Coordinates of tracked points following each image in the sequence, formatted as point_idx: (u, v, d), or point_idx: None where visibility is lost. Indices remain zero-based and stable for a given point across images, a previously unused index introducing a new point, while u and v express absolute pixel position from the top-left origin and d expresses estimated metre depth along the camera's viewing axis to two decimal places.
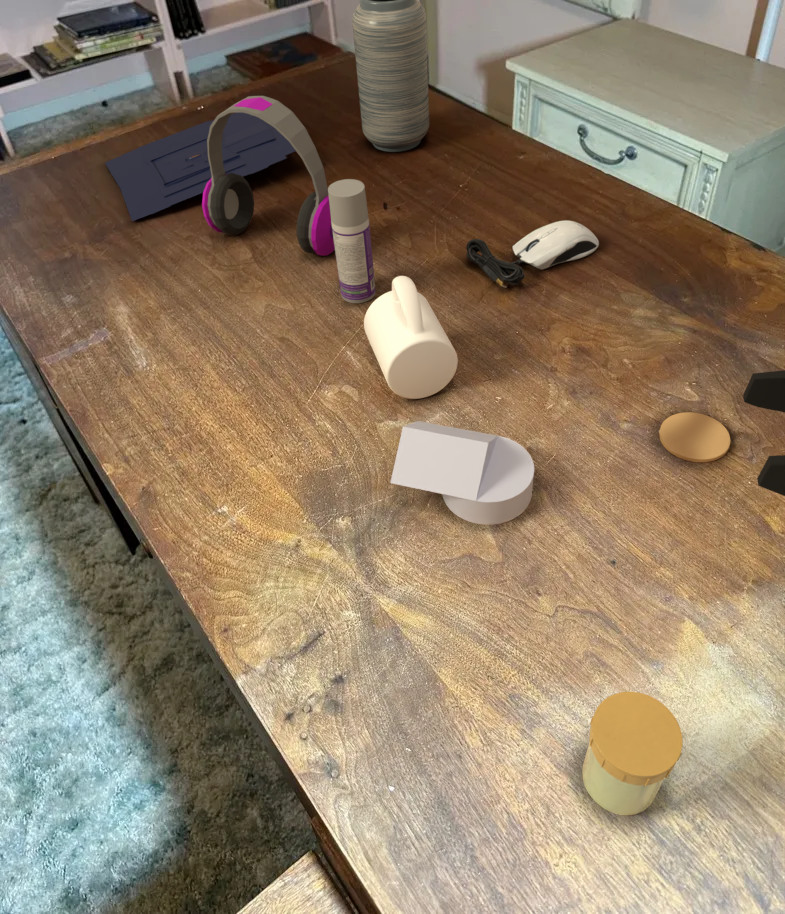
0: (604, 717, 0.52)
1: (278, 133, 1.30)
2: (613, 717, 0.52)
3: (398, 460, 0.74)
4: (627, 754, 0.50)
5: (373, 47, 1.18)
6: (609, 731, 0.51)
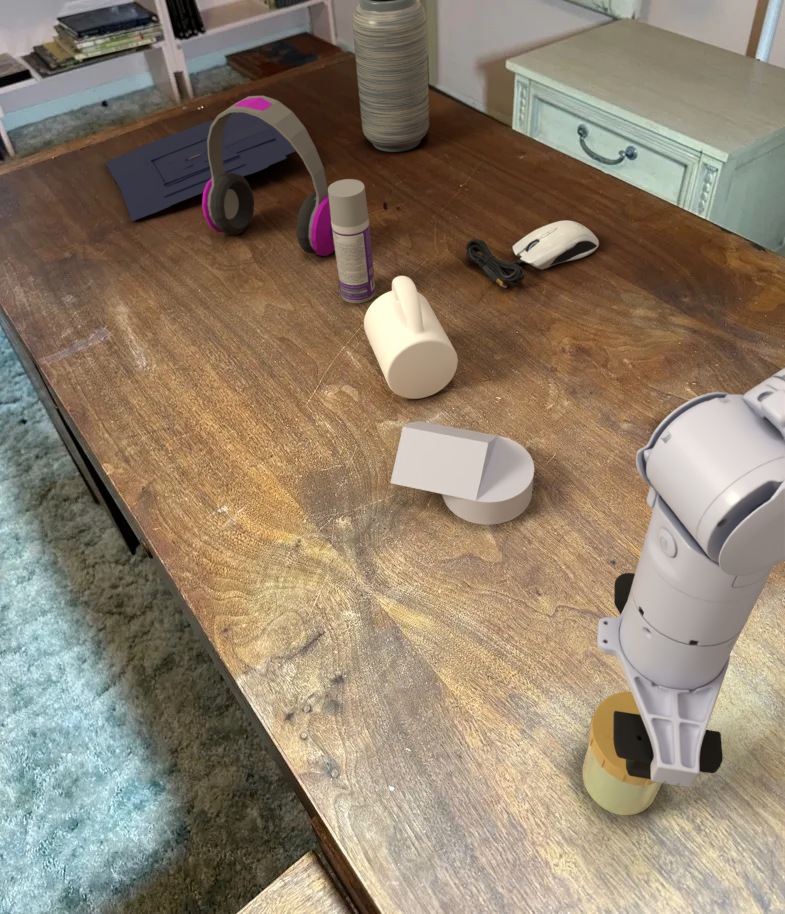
0: (604, 717, 0.52)
1: (278, 133, 1.30)
2: (613, 717, 0.52)
3: (398, 460, 0.74)
4: None
5: (373, 47, 1.18)
6: (609, 731, 0.51)
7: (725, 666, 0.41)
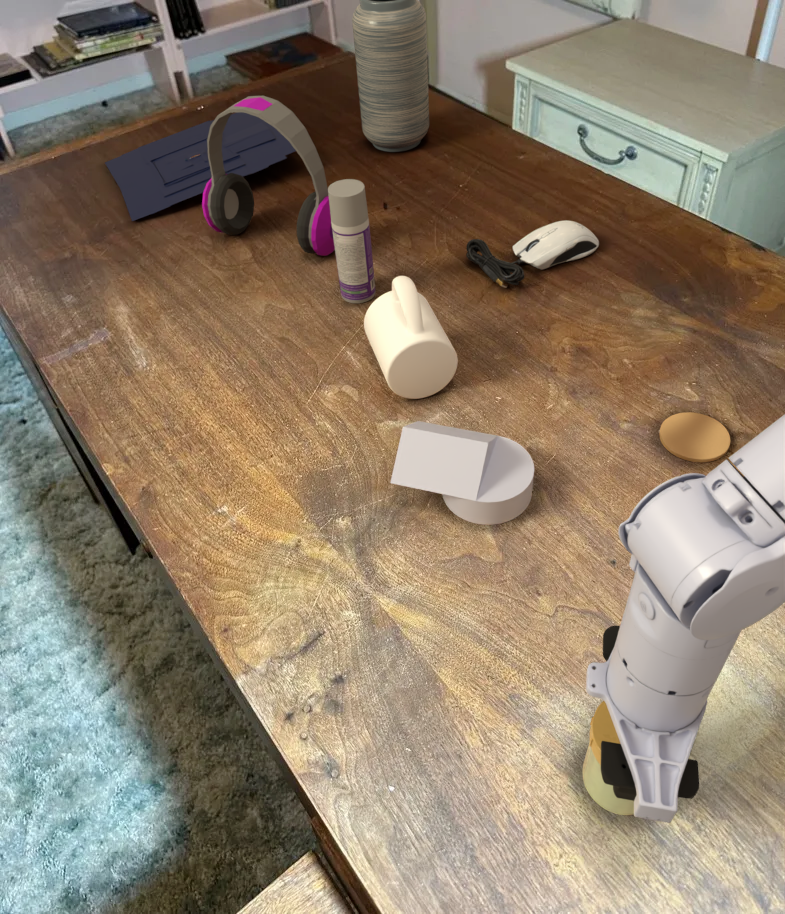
0: (604, 717, 0.52)
1: (278, 133, 1.30)
2: None
3: (398, 460, 0.74)
4: None
5: (373, 47, 1.18)
6: (609, 731, 0.51)
7: (703, 710, 0.45)
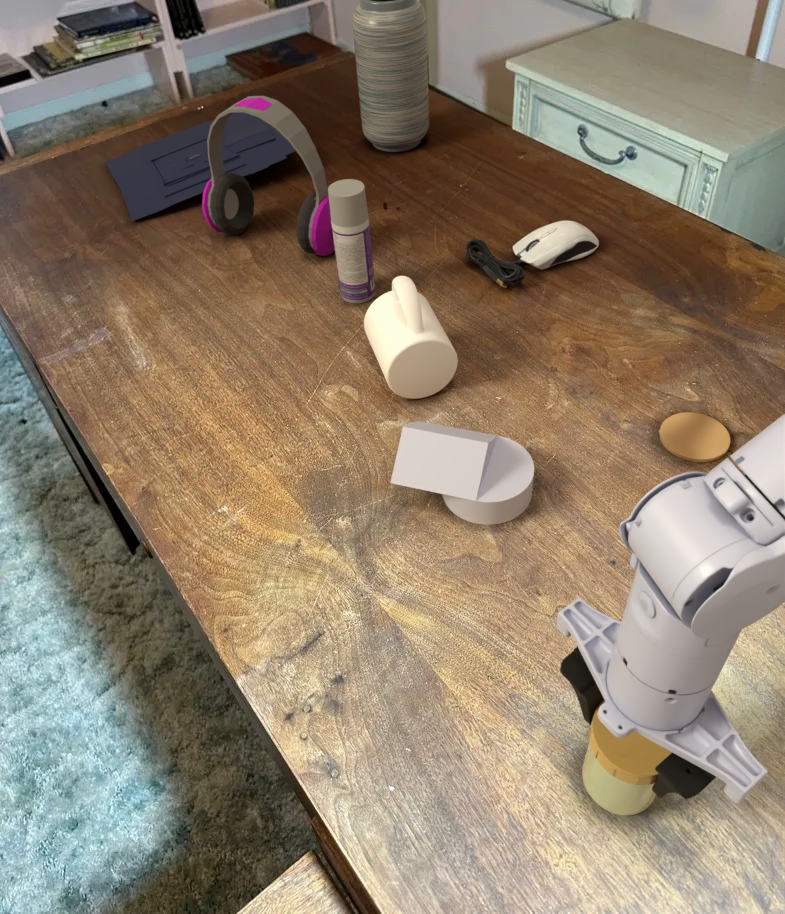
0: (607, 742, 0.51)
1: (278, 133, 1.30)
2: (612, 736, 0.51)
3: (398, 460, 0.74)
4: (650, 757, 0.50)
5: (373, 47, 1.18)
6: (621, 750, 0.50)
7: None
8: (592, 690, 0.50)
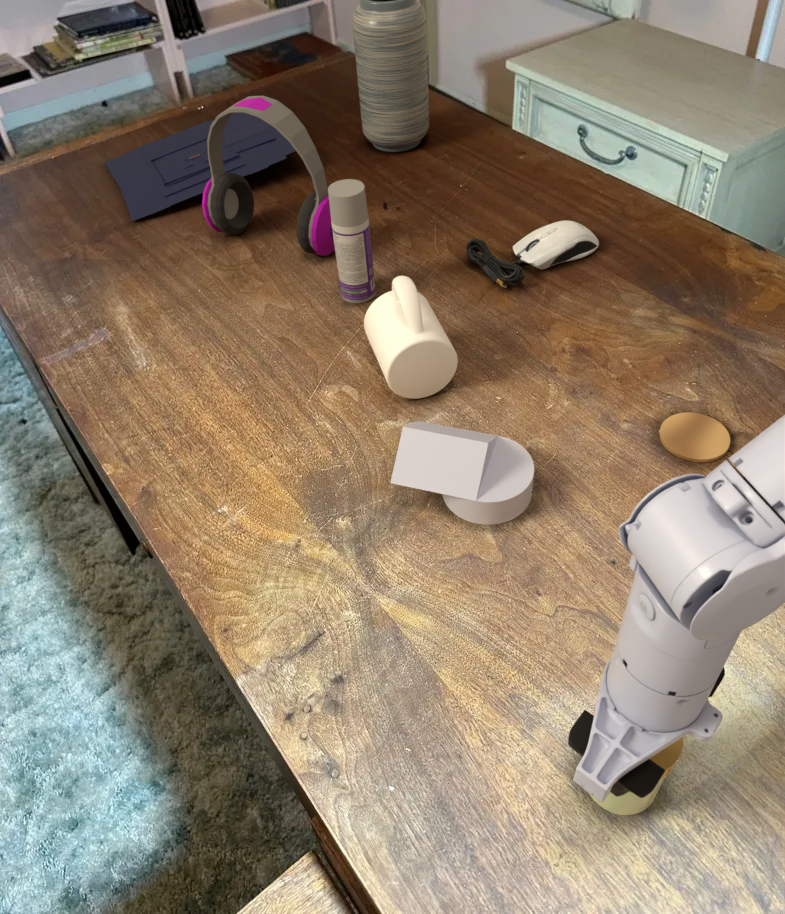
0: (661, 758, 0.50)
1: (278, 133, 1.30)
2: None
3: (398, 460, 0.74)
4: None
5: (373, 47, 1.18)
6: None
7: None
8: None
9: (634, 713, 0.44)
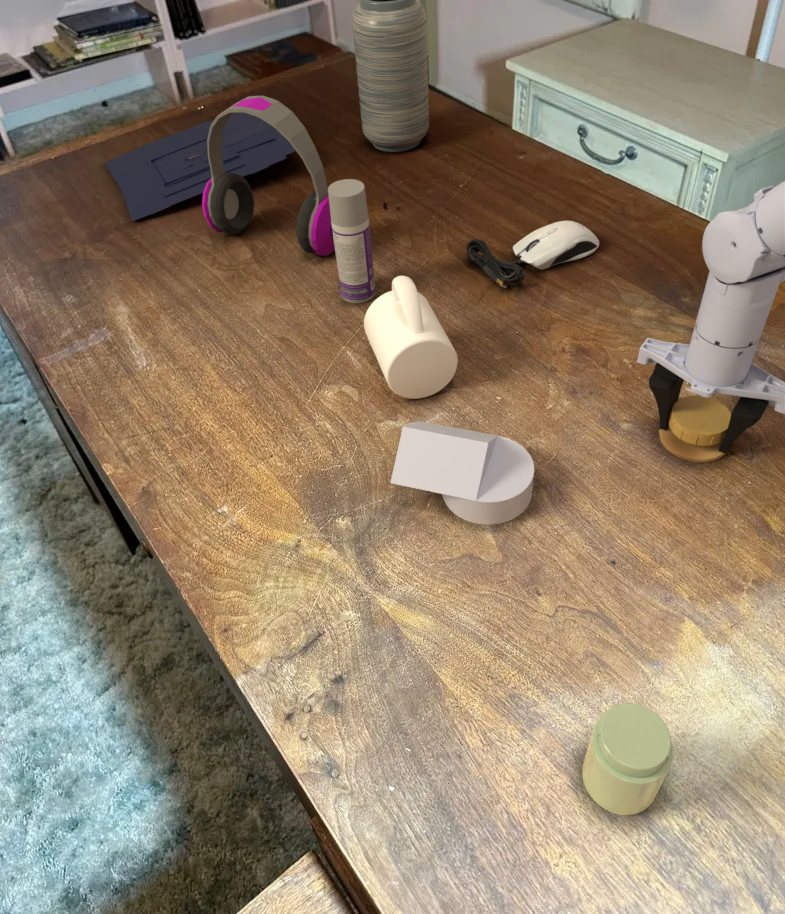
0: (687, 424, 0.77)
1: (278, 133, 1.30)
2: (688, 420, 0.77)
3: (398, 460, 0.74)
4: (715, 424, 0.77)
5: (373, 47, 1.18)
6: (697, 425, 0.77)
7: None
8: (672, 392, 0.76)
9: None
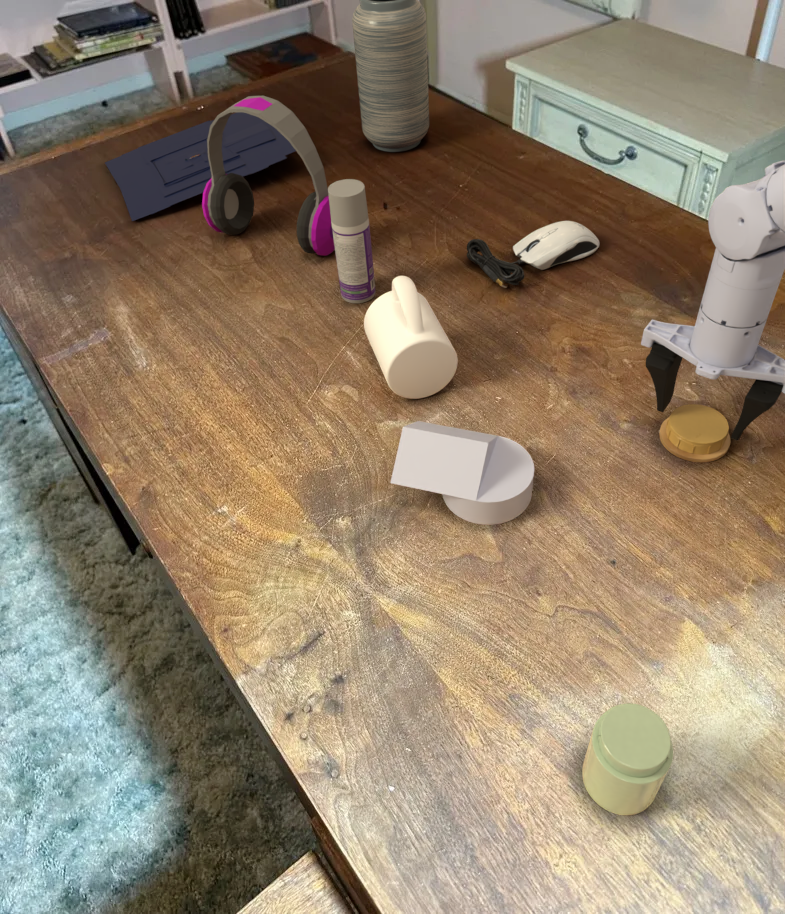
0: (684, 432, 0.78)
1: (278, 133, 1.30)
2: (685, 429, 0.78)
3: (398, 460, 0.74)
4: (712, 432, 0.77)
5: (373, 47, 1.18)
6: (694, 434, 0.77)
7: None
8: (669, 372, 0.75)
9: None
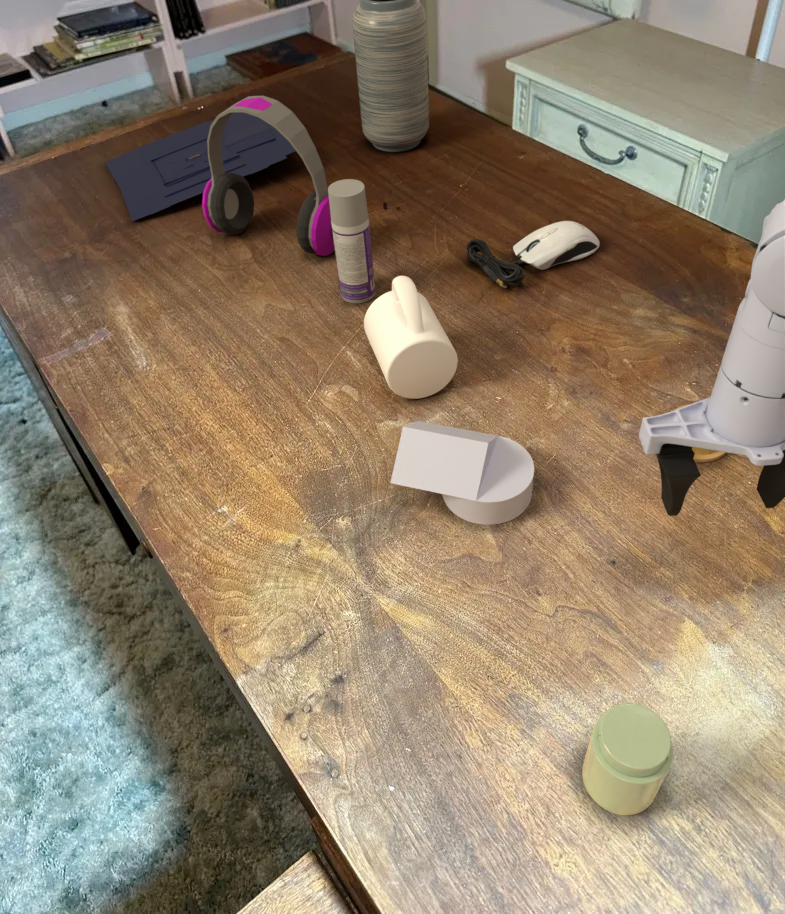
0: None
1: (278, 133, 1.30)
2: None
3: (398, 460, 0.74)
4: None
5: (373, 47, 1.18)
6: None
7: None
8: None
9: (712, 411, 0.53)
